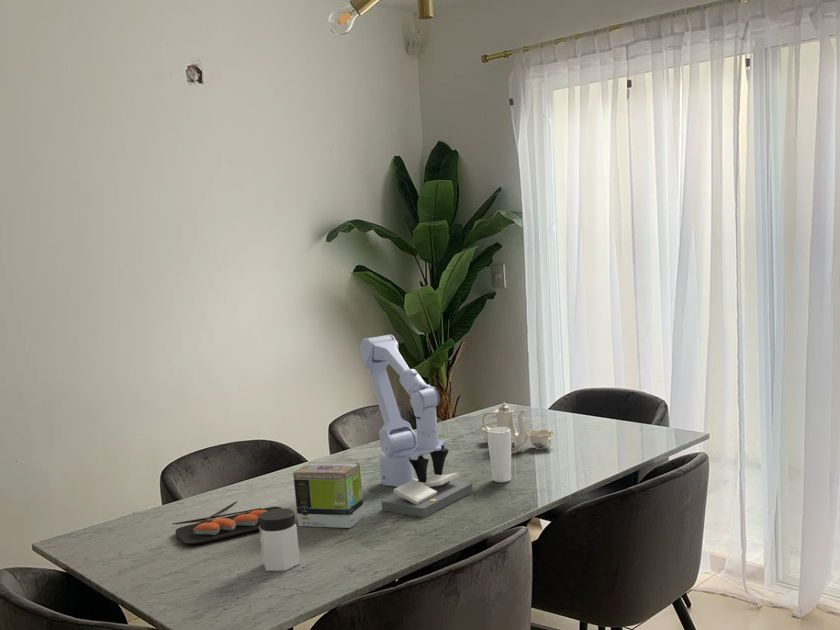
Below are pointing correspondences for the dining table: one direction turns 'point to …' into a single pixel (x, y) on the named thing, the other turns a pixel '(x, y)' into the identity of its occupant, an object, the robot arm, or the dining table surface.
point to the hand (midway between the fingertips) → (430, 478)
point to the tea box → (329, 495)
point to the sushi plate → (220, 526)
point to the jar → (278, 539)
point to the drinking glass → (500, 453)
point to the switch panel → (443, 498)
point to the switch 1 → (415, 492)
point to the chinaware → (517, 439)
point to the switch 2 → (440, 479)
